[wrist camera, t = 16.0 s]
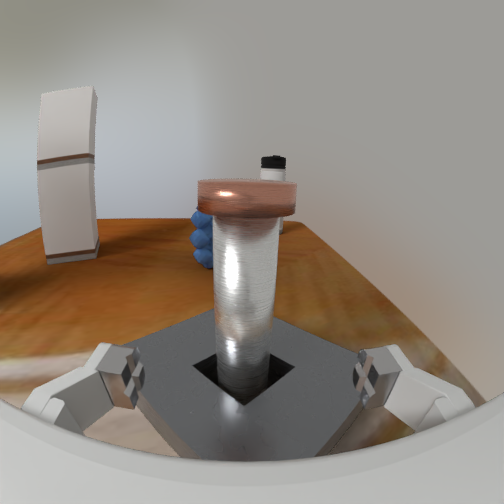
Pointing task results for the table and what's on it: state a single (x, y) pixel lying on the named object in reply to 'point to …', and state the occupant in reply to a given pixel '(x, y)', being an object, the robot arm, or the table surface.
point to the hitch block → (259, 409)
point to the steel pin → (244, 275)
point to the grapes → (203, 238)
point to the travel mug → (274, 173)
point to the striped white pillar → (67, 174)
